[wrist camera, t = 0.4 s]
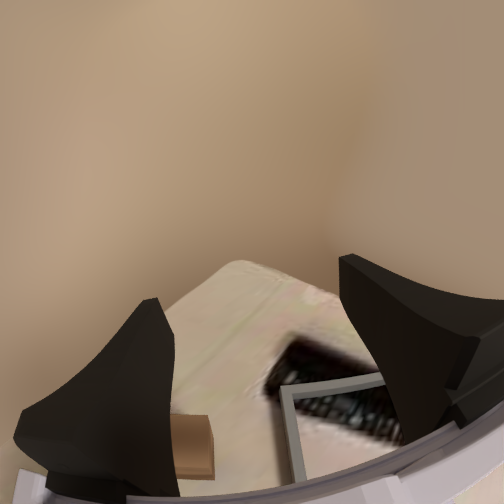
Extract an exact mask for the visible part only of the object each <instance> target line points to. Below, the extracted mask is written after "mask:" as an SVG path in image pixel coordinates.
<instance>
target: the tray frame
mask: <svg viewBox="0 0 504 504" xmlns="http://www.w3.org/2000/svg"><path fill="white" fill-rule="evenodd" d="M381 385H385V382H384V380H383V377H382V375H381V373H380V372H378V373H372V374H367V375H362V376H356V377H350V378H343V379H337V380H330V381H322V382H315V383H306V384H297V385H286V386H280V390H279V397H280V404H281V410H282V417H283V423H284V430H285V437H286V443H287V450H288V457H289V463H290V470H291V477H292V483H293V484H294V483H298V482H302V481H306V480H307V477H306V471H305V465H304V459H303V454H302V448H301V442H300V436H299V431H298V425H297V419H296V414H295V408H294V402H293V400H294V399H303V398H311V397H319V396H326V395H333V394H339V393H345V392H351V391H356V390H361V389H367V388H372V387H376V386H381Z"/></svg>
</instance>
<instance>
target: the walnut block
mask: <svg viewBox="0 0 504 504" xmlns="http://www.w3.org/2000/svg"><path fill="white" fill-rule="evenodd" d="M170 424H171V439H172V449H173V458H174V465H175V472H176V477H177V479H190V480H215V469H214V439H213V434H212V430H211V426H210V422H209V418H208V415H178V414H170Z"/></svg>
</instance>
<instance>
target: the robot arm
mask: <svg viewBox="0 0 504 504" xmlns="http://www.w3.org/2000/svg"><path fill="white" fill-rule="evenodd" d="M339 287H340V288H339V289H340V301H341V303H342V305H343V307H344V310H345V312H346V314H347V316H348V318H349V320H350V321H351V323H352V325H353V326H354V328H355V330H356V331H357V333H358V334H359V336H360V338H361V339H362V341H363V342H364V344H365V346H366V347H367V349H368V350H369V352H370V354H371V355H372V357H373V359H374V361H375V362H376V364H377V366H378V368H379V371H380V373H381V375H382V377H383V380H384V382H385V384H386V387H387V389H388V392H389V394H390V397H391V399H392V402H393V405H394V408H395V410H396V413H397V416H398V419H399V422H400V425H401V429H402V432H403V436H404V439H405V443H406V446H404V447H401V448H399V449H397V450H395V451H392V452H390V453H388V454H385V455H383V456H380V457H378V458H375V459H373V460H370V461H368V462H365V463H362V464H359V465H357V466H354V467H351V468H348V469H345V470H342V471H338V472H335V473H332V474H329V475H325V476H322V477H318V478H314V479H310V480H306V481H302V482H298V483H294V484H289V485H285V486H280V487H274V488H269V489H263V490H257V491H250V492H243V493H235V494H226V495H214V496H199V497H180V492H179V488H178V483H177V477H176V472H175V465H174V458H173V449H172V439H171V424H170V402H171V391H172V381H173V371H174V361H175V343H174V334H173V332H172V330H171V328H170V325H169V323H168V321H167V319H166V316H165V314H164V312H163V310H162V308H161V305H160V303H159V301H158V298H152V299H147V300H143V301H142V302H141V303H140V304H139V306H138V307H137V308H136V309H135V310H134V312H133V313H132V314H131V315H130V317H129V318H128V319H127V321H126V322H125V323H124V324H123V326H122V327H121V328H120V329H119V331H118V332H117V333H116V334H115V335H114V337H113V338H112V339H111V340H110V341H109V343H108V344H107V345H106V346H105V347H104V348H103V350H102V351H101V352H100V353H99V354H98V355H97V356H96V357H95V358H94V359H93V360H92V361H91V362H90V363H89V364H88V365H87V366H86V367H85V368H84V369H83V370H81V371H80V372H79V373H78V374H77V375H75V376H74V377H73V378H72V379H71V380H69V381H68V382H67V383H66V384H64V385H63V386H62V387H60V388H59V389H58V390H56V391H55V392H53V393H52V394H51V395H49V396H47V397H46V398H44V399H42V400H41V401H39V402H37V403H35V404H34V405H32V406H30V407H28V408H26V409H24V410H23V411H22V413H21V416H20V419H19V421H18V425H17V427H16V430H15V433H14V436H13V439H14V441H15V443H16V445H17V446H18V447H19V448H20V449H21V450H22V451H23V452H24V453H25V454H26V455H28V456H29V457H30V458H32V459H33V460H34V461H36V462H37V463H38V464H40V465H41V466H43V467H44V468H46V469H47V470H48V474H47V477H46V476H44V475H42V474H39V473H36V472H32V471H29V470H25V469H22V468H21V469H19V473H18V477H17V481H16V486H15V491H14V496H13V501H12V504H455V502H454V500H453V499H454V498H456V497H457V496H459V495H460V494H462V493H463V492H465V491H466V490H468V489H469V488H471V487H472V486H474V485H475V484H477V483H478V482H479V481H481V480H482V479H484V478H485V477H486V476H488V475H489V474H490V473H492V472H493V471H494V470H495V469H497V468H498V467H499V466H500V465H502V464H503V463H504V300H495V299H482V298H474V297H468V296H462V295H457V294H453V293H449V292H444V291H441V290H437V289H434V288H431V287H428V286H425V285H422V284H419V283H417V282H414V281H412V280H409V279H407V278H404V277H402V276H400V275H398V274H395V273H393V272H391V271H389V270H387V269H385V268H383V267H380V266H378V265H376V264H374V263H372V262H370V261H368V260H366V259H364V258H362V257H360V256H358V255H355V254H349V255H345V256H341V257H339Z"/></svg>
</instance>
